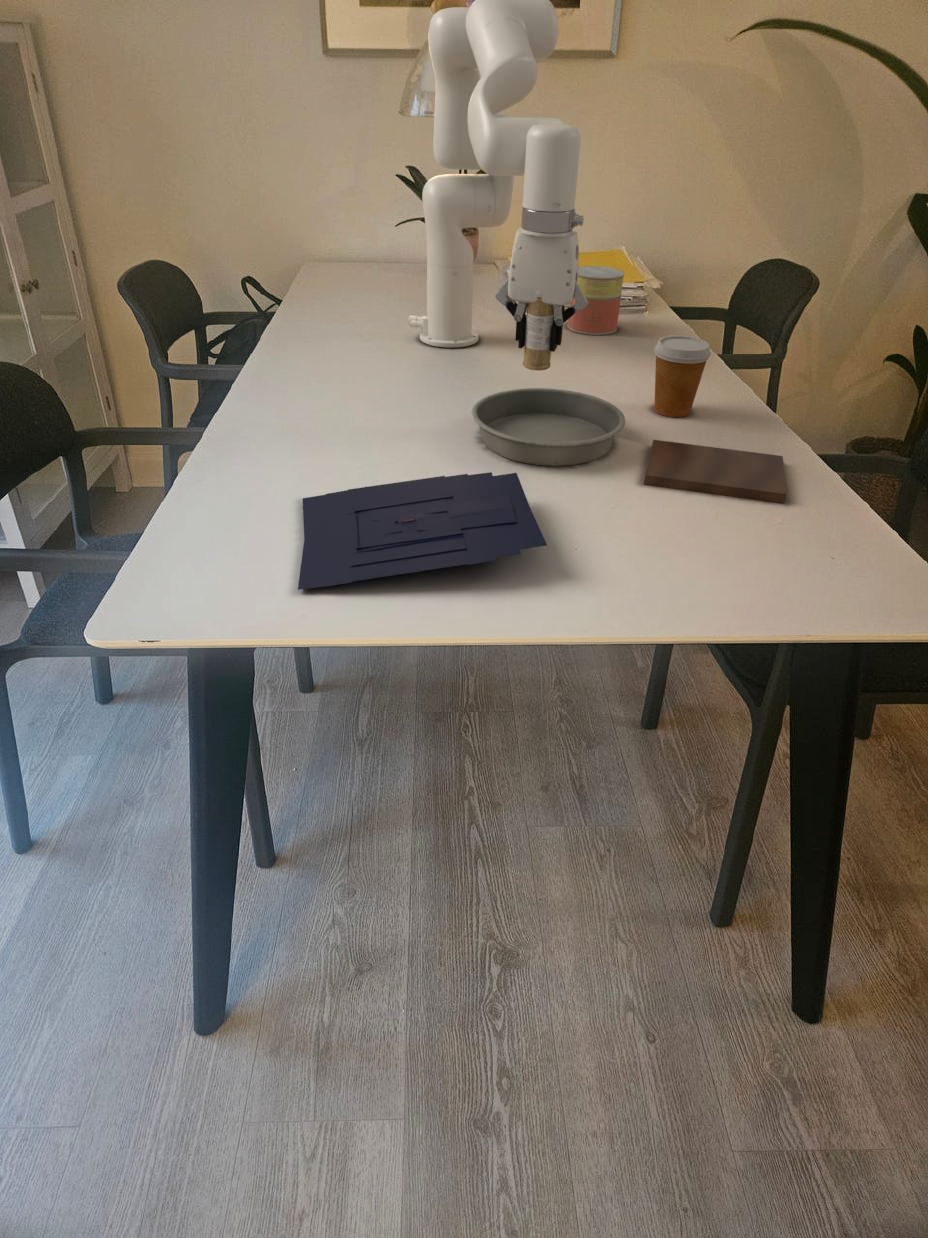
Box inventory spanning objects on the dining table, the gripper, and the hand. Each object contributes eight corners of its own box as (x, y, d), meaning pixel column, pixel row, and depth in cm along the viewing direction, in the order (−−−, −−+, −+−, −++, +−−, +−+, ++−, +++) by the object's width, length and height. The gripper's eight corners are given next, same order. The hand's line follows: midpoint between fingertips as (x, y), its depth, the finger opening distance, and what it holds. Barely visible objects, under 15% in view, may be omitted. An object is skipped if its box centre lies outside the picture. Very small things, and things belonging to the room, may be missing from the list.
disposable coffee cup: (704, 407, 154) (717, 339, 147) (692, 424, 147) (705, 354, 140) (652, 397, 157) (662, 331, 150) (638, 414, 150) (649, 345, 143)
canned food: (625, 326, 195) (632, 270, 189) (604, 337, 187) (611, 280, 181) (580, 317, 200) (586, 263, 193) (558, 328, 192) (563, 272, 185)
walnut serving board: (643, 484, 127) (645, 474, 126) (651, 448, 138) (653, 439, 137) (783, 503, 123) (786, 494, 122) (780, 464, 134) (782, 455, 133)
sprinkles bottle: (536, 360, 139) (543, 273, 132) (556, 368, 137) (564, 279, 129) (516, 365, 137) (521, 277, 129) (535, 373, 134) (542, 283, 127)
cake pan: (633, 424, 146) (637, 398, 144) (605, 482, 127) (609, 453, 125) (496, 403, 153) (497, 378, 150) (449, 455, 133) (450, 428, 131)
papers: (551, 572, 103) (550, 546, 101) (302, 610, 101) (296, 584, 99) (515, 484, 123) (513, 461, 120) (306, 514, 121) (301, 491, 119)
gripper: (608, 221, 126) (594, 346, 136) (497, 213, 129) (491, 335, 140) (601, 230, 120) (587, 360, 130) (485, 221, 123) (480, 348, 134)
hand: (537, 346), depth 135 cm, fingers closed on sprinkles bottle, 4 cm apart
